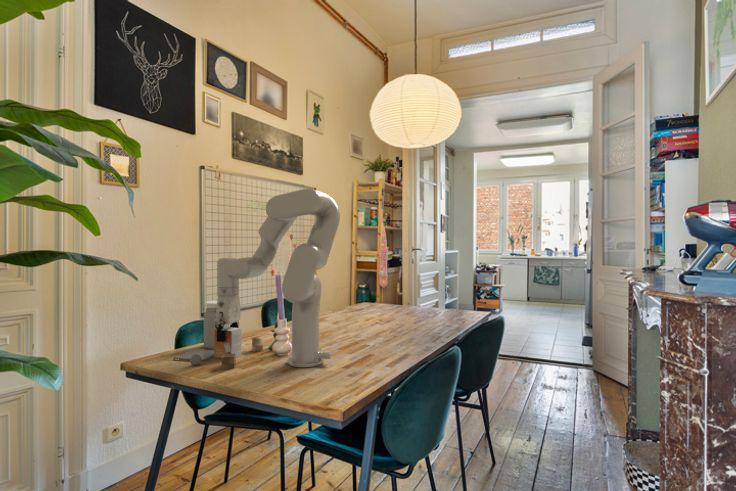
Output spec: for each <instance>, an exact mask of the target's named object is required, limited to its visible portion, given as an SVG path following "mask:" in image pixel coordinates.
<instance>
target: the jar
mask: <svg viewBox="0 0 736 491" xmlns="http://www.w3.org/2000/svg"><path fill="white" fill-rule="evenodd" d="M216 310H217V300H209V301H208V300H207V301H205V312H204V313H203V346H204V347H205V349H206V350H214V335H215V329H216V327H215V322H214V320H215V318H216ZM222 327H223V325H222ZM226 327H230V324H226Z"/></svg>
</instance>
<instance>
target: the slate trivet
mask: <svg viewBox="0 0 736 491" xmlns="http://www.w3.org/2000/svg"><path fill="white" fill-rule="evenodd" d="M195 354H197V355H200V356H201V361H205V362H207V361H209V360H211V359H213V358H215V357H214V349H199V348H198V349H197V348H193V349H190V350H188V351H185V352H183V353H181V354H179V355H177V356H175V357H173V359H179V360H178V361H180V360H190V358H191V357H192V356H193V355H195ZM173 359H172V360H173Z"/></svg>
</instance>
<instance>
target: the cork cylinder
mask: <svg viewBox="0 0 736 491" xmlns="http://www.w3.org/2000/svg"><path fill="white" fill-rule="evenodd" d="M251 340H252V341H251V352H253V353H260V352H263V351H264V347H263V346H264V344H263V342H264V338H263V336H253V337H252V338H251Z"/></svg>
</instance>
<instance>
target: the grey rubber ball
mask: <svg viewBox="0 0 736 491" xmlns="http://www.w3.org/2000/svg"><path fill="white" fill-rule="evenodd" d="M189 362H190V364H191V365H193V366H198V365H200V364H201V356H200V355H197V354H195V355H193V356H192V357H191V358H190V361H189Z"/></svg>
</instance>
